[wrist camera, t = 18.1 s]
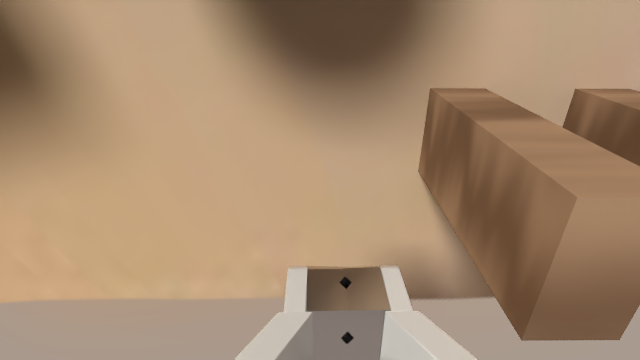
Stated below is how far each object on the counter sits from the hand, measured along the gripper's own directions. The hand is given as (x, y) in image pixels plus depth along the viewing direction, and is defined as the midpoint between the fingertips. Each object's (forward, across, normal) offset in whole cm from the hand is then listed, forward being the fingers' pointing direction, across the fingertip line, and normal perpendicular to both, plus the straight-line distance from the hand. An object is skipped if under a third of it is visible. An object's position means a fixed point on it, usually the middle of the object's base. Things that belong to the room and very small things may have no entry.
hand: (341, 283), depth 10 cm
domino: (+12, -7, 0) cm, 14 cm away
